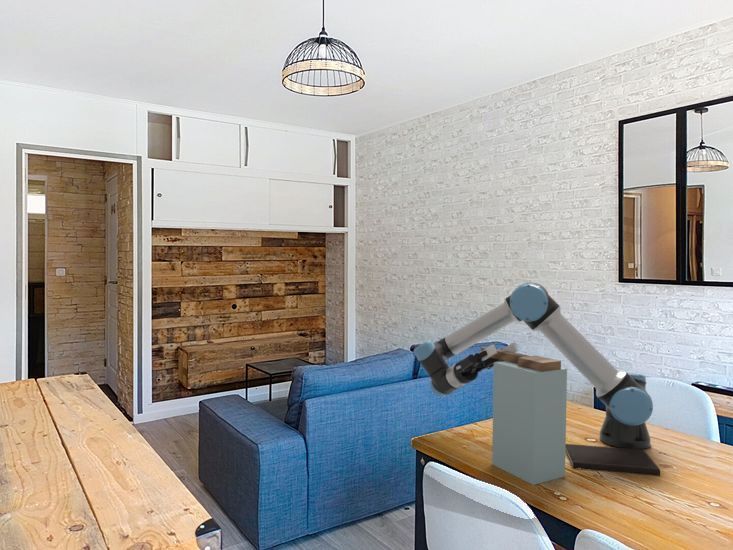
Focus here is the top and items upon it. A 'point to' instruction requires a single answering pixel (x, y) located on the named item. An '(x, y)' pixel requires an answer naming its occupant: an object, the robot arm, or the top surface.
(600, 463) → the hardcover book
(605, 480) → the top surface
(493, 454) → the stand
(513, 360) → the brown tapered block
